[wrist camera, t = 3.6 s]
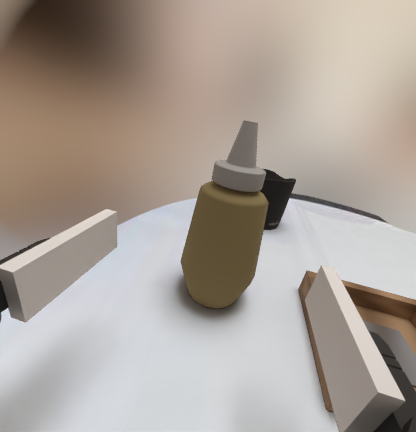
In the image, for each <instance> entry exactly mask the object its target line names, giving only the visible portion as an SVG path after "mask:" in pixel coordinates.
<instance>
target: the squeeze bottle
mask: <svg viewBox="0 0 416 432" xmlns="http://www.w3.org/2000/svg"><path fill="white" fill-rule="evenodd" d="M257 129H258V123H254V122H249V121H243V123H242V126H241V128H240V131H239V133H238V135H237V138H236V140H235V142H234V145H233V147H232V149H231V152H230V154H229V156H228V159H227V160H219V161H216V162H215V165H214V170H213V176H212V180H213V181H211V182H208V183H206V184H204V185H203V186H201V188H200V191H199V195H198V198H197V202H196V206H195V209H194V213H193V217H192V221H191V224H190V228H189V232H188V236H187V239H186V243H185V247H184V250H183V254H182V258H181V265H182V269H183V273H184V277H185V281H186V285H187V289H188V292H189V295H190V296H191V297H192V298H193V299H194V300H195V301H196V302H198V303H199V304H201V305H203V306H205V307H210V308H215V309H217V308H225V307H227V306H229V305H231V304H232V303H234V302H235V301H236V299H237V298H238V297H239V296H240V295H241V294H242V293H243V292H244V290H245V289H246V288H247V287H248V286H249V285H250V283H251V282H252V280H253V278H254V276H255V271H256V266H257V261H258V255H259V250H260V245H261V240H262V235H263V230H264V225H265V219H266V214H267V209H268V204H269V203H268V201H267V199H266V197H265V196H264V194H263V193H261V192H260V190H261V189H262V187H263V183H264V180H265V176H266V172H265V170H263V169H261V168H259V167H256V152H257Z"/></svg>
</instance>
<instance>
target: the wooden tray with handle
mask: <svg viewBox="0 0 416 432" xmlns="http://www.w3.org/2000/svg"><path fill="white" fill-rule="evenodd" d="M316 275H317V273H314V272H310V271H306V273H305V276H304V278H303V280H302V282H301V285H300V287H299V289H298V290H299V294H300V298H301V302H302V307H303V311H304V315H305V320H306V324H307V328H308V333H309V337H310V341H311V345H312V350H313V354H314V358H315V363H316V367H317V371H318V376H319V380H320V384H321V389H322V393H323V397H324V401H325V406H326V409H327V410H330V411H333V407H332V403H331V399H330V396H329V392H328V388H327V384H326V380H325V376H324V373H323V369H322V365H321V361H320V357H319V353H318V349H317V346H316V342H315V338H314V334H313V330H312V326H311V323H310V319H309V315H308V311H307V307H306V303H305V299H306V296H307V294H308V292H309V290H310V288H311V286H312V284H313V282H314V280H315V278H316ZM341 281H342V283H343V285H344V286H345V288H346V290H347V292H348V294H349V296H350V298H351V300H352V301H353V303H354V305H355V307H356V309H357V311H358V313H359V315H360V316H361V318H362V320H363V322H364V324H365V326H366V328H367V330H368V331H371V332H375V333H377V334H378V335H379V336H380V337H381V338H382V339H383V340H384V341H385V342H386V343H387V344H388V345H389V347H390V349H391V350H392V352H393V354H394V355H395V357H396V360H397V361H398V362H399V364H400V366H401V367H402V371H404V372H405V374H406V376H407V377H408V379H409V381H410V383H411V384H412V386H413V388H414V389H415V391H416V300H414V299H410V298H407V297H403V296H399V295H395V294H392V293H388V292H384V291H381V290H377V289H373V288H370V287H366V286H362V285H358V284H355V283H351V282H347V281H344V280H341ZM333 412H334V411H333Z"/></svg>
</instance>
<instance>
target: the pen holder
mask: <svg viewBox="0 0 416 432" xmlns="http://www.w3.org/2000/svg"><path fill="white" fill-rule="evenodd" d="M263 170H265V172H266V176H265V180H264V183H263V187H262V189H261V190H260V192H261V193H263V194H264V196H265V197H266V199H267V201H268V203H269V204H268V209H267V214H266V219H265V225H264V229H273V228H276V227H277V226H278V225H279V223H280V220H281V218H282V215H283V213H284V210H285V208H286V205H287V203H288V200H289V198H290V195H291V192H292V190H293V187H294V185H295V182H296V180H295V179H284V178H282V177H280V176H279V175H277V174H276V173H275V172H273V171H270V170H266V169H263Z"/></svg>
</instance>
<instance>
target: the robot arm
mask: <svg viewBox="0 0 416 432" xmlns="http://www.w3.org/2000/svg"><path fill="white" fill-rule="evenodd" d="M116 247H117V212H116V211H112V210H109V209H106V210H104V211H102V212H100V213H98V214H96V215H94V216H92V217H90V218H88V219H87V220H85V221H83V222H81V223H79V224H77V225H75V226H73V227H71V228H69V229H68V230H66V231H64V232H62V233H60V234H58V235H56V236H54V237H52V238H48V239H44V240H41V241H37V242H35V243H34V244H31V245H30V246H28V247H27V248H24V249H22V250H20V251H19V252H16V253H14V254H12V255H10V256H8V257H6V258H4V259H2V260H0V321H1V312H2V311H4V310H5V309H6V308H9V312H10V315H11V317H12V318H15V319H18V320H20V321H23V322H27V321H28V320H29V319H31V318H32V317H33V316H34V315H35V314H37V313H38V312H39V311H40V310H41V309H43V308H44V307H45V306H46V305H47V304H49V303H50V302H51V301H52V300H53V299H55V298H56V297H57V296H58V295H59V294H61V293H62V292H63V291H64V290H65V289H67V288H68V287H69V286H70V285H71V284H73V283H74V282H75V281H76V280H78V279H79V278H80V277H81V276H82V275H84V274H85V273H86V272H87V271H88V270H90V269H91V268H92V267H93V266H94V265H96V264H97V263H98V262H99V261H100V260H102V259H103V258H104V257H105V256H106V255H108V254H109V253H110V252H111V251H112V250H114V249H115V248H116ZM305 303H306V307H307V311H308V315H309V319H310V323H311V326H312V330H313V334H314V338H315V342H316V346H317V349H318V353H319V357H320V361H321V365H322V369H323V373H324V376H325V380H326V384H327V388H328V392H329V396H330V399H331V403H332V407H333V411H334V415H335V419H336V423H337V426H338V430H339V432H416V391H415V389H414V388H413V386H412V384H411V383H410V381H409V379H408V377H407V376H406V374H405V372H404V371H402V367H401V366H400V364H399V362H398V361H397V360H396V357H395V355H394V354H393V352H392V350H391V349H390V347H389V345H388V344H387V343H386V342H385V341H384V340H383V339H382V338H381V337H380V336H379V335H378V334H377V333H375V332H371V331H368V330H367V328H366V326H365V324H364V322H363V320H362V318H361V316H360V315H359V313H358V311H357V309H356V307H355V305H354V303H353V301H352V300H351V298H350V296H349V294H348V292H347V290H346V288H345V286H344V285H343V283H342V281H341V279H340V277H339V275H338V273H337V272H336V270H335V269H334V268H330V267H326V266H322V265H321V267H320V269H319V271H318V273H317V275H316V278H315V280H314V282H313V284H312V286H311V288H310V290H309V292H308V294H307V296H306V299H305Z"/></svg>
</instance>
